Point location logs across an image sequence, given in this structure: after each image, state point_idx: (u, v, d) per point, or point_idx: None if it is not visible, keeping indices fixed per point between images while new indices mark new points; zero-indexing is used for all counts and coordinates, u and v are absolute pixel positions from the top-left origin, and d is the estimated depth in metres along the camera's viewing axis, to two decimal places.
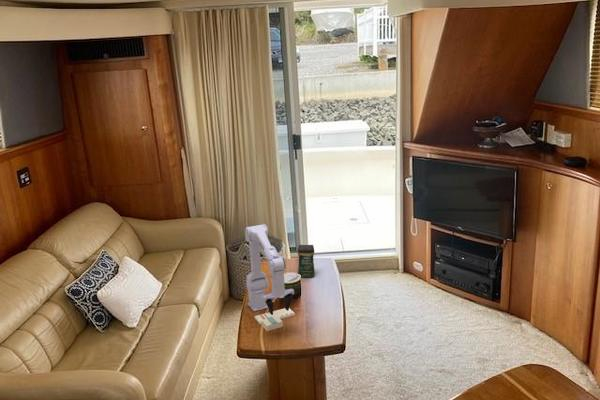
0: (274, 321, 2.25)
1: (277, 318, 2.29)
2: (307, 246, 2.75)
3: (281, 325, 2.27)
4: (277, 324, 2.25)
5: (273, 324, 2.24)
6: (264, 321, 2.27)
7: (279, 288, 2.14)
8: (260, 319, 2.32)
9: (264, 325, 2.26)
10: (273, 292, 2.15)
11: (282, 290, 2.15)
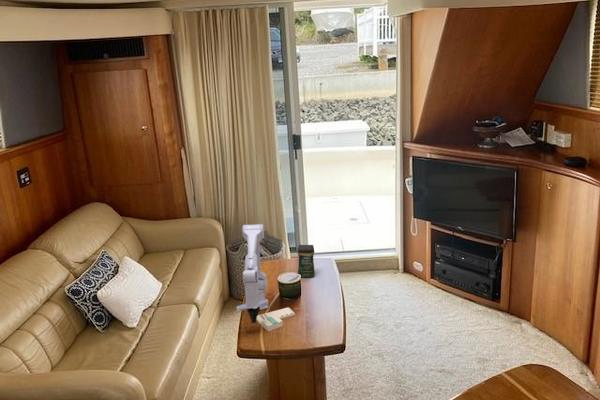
0: (274, 321, 2.25)
1: (277, 318, 2.29)
2: (307, 246, 2.75)
3: (281, 325, 2.27)
4: (277, 324, 2.26)
5: (274, 324, 2.24)
6: (264, 321, 2.27)
7: (253, 299, 2.17)
8: (260, 319, 2.32)
9: (264, 325, 2.25)
10: (247, 303, 2.18)
11: (256, 301, 2.18)
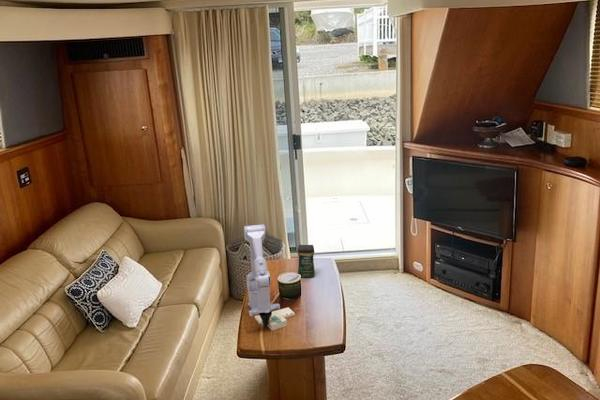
0: (278, 320, 2.26)
1: (281, 317, 2.30)
2: (307, 246, 2.75)
3: (285, 324, 2.27)
4: (281, 323, 2.26)
5: (277, 323, 2.25)
6: None
7: (265, 303, 2.20)
8: (260, 319, 2.32)
9: (268, 324, 2.26)
10: (259, 307, 2.22)
11: (268, 305, 2.21)
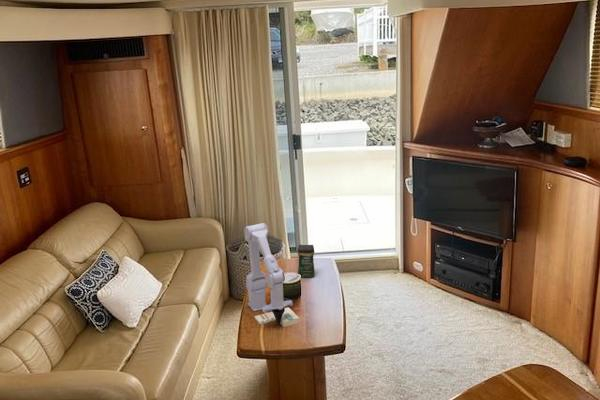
0: (290, 318, 2.28)
1: (293, 314, 2.32)
2: (307, 246, 2.75)
3: (297, 321, 2.30)
4: (293, 320, 2.28)
5: (289, 320, 2.27)
6: None
7: (278, 300, 2.23)
8: (260, 319, 2.32)
9: (281, 321, 2.29)
10: (272, 303, 2.24)
11: (281, 302, 2.24)
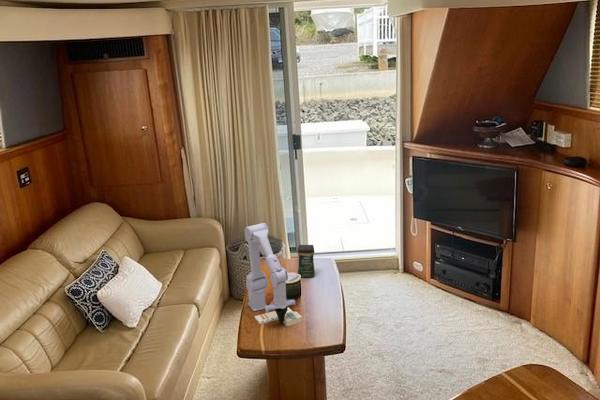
0: (293, 317, 2.29)
1: (296, 313, 2.33)
2: (307, 246, 2.75)
3: (300, 320, 2.30)
4: (296, 319, 2.29)
5: (292, 319, 2.28)
6: None
7: (281, 299, 2.24)
8: (260, 319, 2.32)
9: (284, 320, 2.29)
10: (275, 303, 2.25)
11: (284, 301, 2.25)
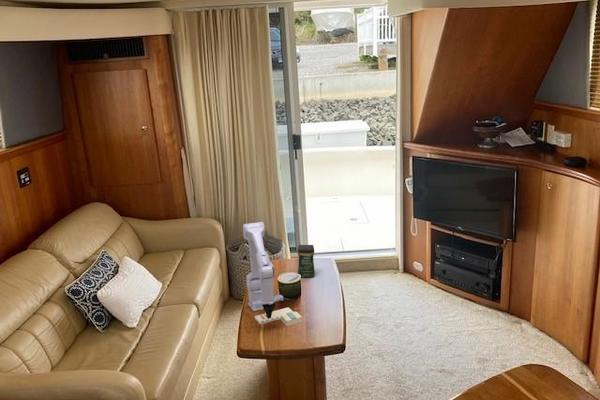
0: (293, 317, 2.29)
1: (296, 313, 2.33)
2: (307, 246, 2.75)
3: (300, 320, 2.30)
4: (296, 319, 2.29)
5: (292, 319, 2.28)
6: (283, 316, 2.31)
7: (268, 295, 2.20)
8: (260, 319, 2.32)
9: (284, 320, 2.29)
10: (263, 298, 2.21)
11: (271, 296, 2.21)
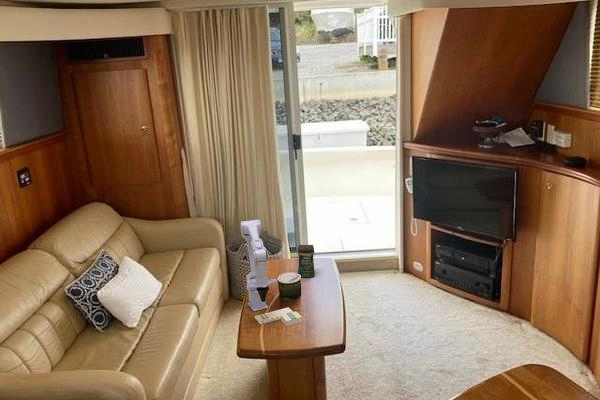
0: (293, 317, 2.29)
1: (296, 313, 2.33)
2: (307, 246, 2.75)
3: (300, 320, 2.30)
4: (296, 319, 2.29)
5: (292, 319, 2.28)
6: (283, 316, 2.31)
7: (262, 278, 2.24)
8: (260, 319, 2.32)
9: (284, 320, 2.29)
10: (257, 282, 2.25)
11: (265, 280, 2.25)
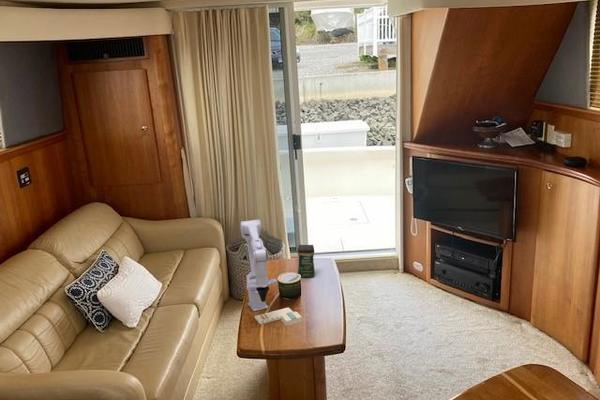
0: (293, 317, 2.29)
1: (296, 313, 2.33)
2: (307, 246, 2.75)
3: (300, 320, 2.30)
4: (296, 319, 2.29)
5: (292, 319, 2.28)
6: (283, 316, 2.31)
7: (262, 278, 2.24)
8: (260, 319, 2.32)
9: (283, 320, 2.29)
10: (257, 282, 2.25)
11: (265, 280, 2.25)
